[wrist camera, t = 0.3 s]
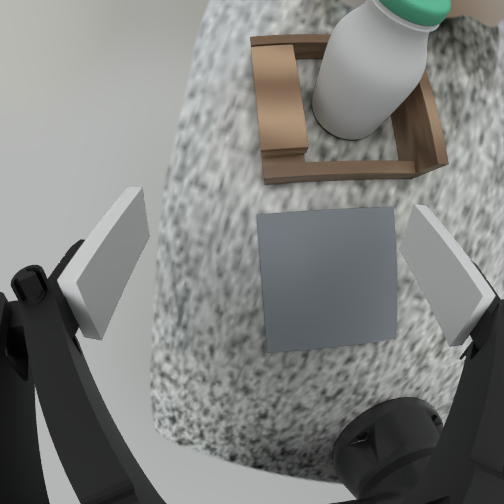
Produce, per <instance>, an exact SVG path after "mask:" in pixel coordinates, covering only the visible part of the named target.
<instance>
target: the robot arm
mask: <svg viewBox="0 0 504 504" xmlns="http://www.w3.org/2000/svg"><path fill="white" fill-rule="evenodd" d="M149 237H150V235H149V229H148V223H147V216H146V209H145V202H144V194H143V187H129V188H127V189H126V190H125V192H124V193H123V194H122V195H121V196H120V197H119V198H118V200H117V201H116V202H115V203H114V205H113V206H112V207H111V208H110V209H109V211H108V212H107V213H106V214H105V216H104V217H103V218H102V219H101V220H100V222H99V223H98V224H97V226H96V227H95V228H94V229H93V231H92V232H91V233H90V235H89V236H88V237H87V239H86V240H79V241H78V242H77V243H75V244H74V245H73V246H72V247H71V248H70V249H69V250H68V251H67V253H66V254H65V256H64V257H63V258H62V260H61V261H60V263H59V264H58V265H57V267H56V268H55V269H54V271H53V272H52V274H51V275H50V277H49V278H48V279H47V277H46V275H45V272H44V270H43V268H42V267H41V266H39V265H30V266H28V267H25V268H23V269H21V270H20V271H19V272H17V273H16V274H15V276H14V277H13V279H12V280H11V287H12V289H13V291H14V293H15V295H16V297H17V298H18V301H11V302H8V301H7V299H6V297H5V295H4V294H3V293H2V292H0V504H50V503H49V499H48V495H47V491H46V486H45V481H44V476H43V470H42V464H41V458H40V451H39V444H38V434H37V424H36V410H35V387H36V390H37V394H38V398H39V402H40V405H41V408H42V411H43V415H44V417H45V421H46V424H47V427H48V430H49V433H50V435H51V438H52V441H53V443H54V446H55V449H56V451H57V454H58V456H59V459H60V461H61V463H62V466H63V468H64V470H65V472H66V475H67V477H68V479H69V481H70V483H71V485H72V487H73V489H74V491H75V493H76V495H77V497H78V499H79V501H80V503H81V504H166V503H165V502H164V500H163V499H162V498H161V497H160V495H159V494H158V493H157V491H156V490H155V488H154V487H153V485H152V484H151V482H150V481H149V480H148V478H147V477H146V475H145V474H144V472H143V470H142V469H141V467H140V466H139V464H138V463H137V461H136V459H135V458H134V456H133V455H132V453H131V451H130V449H129V448H128V446H127V444H126V443H125V441H124V439H123V437H122V436H121V434H120V432H119V430H118V428H117V426H116V424H115V423H114V421H113V419H112V417H111V415H110V413H109V411H108V409H107V407H106V405H105V403H104V401H103V399H102V397H101V394H100V392H99V390H98V388H97V386H96V384H95V381H94V379H93V377H92V374H91V372H90V370H89V367H88V365H87V362H86V360H85V358H84V355H83V352H82V350H81V347H80V344H79V342H78V339H77V338H76V336H75V334H76V332H77V330H78V328H80V330H81V331H82V333H83V335H84V337H86V338H92V339H97V340H102V339H103V336H104V334H105V332H106V329H107V327H108V324H109V322H110V320H111V317H112V315H113V313H114V310H115V308H116V306H117V304H118V301H119V299H120V297H121V295H122V292H123V290H124V288H125V286H126V284H127V282H128V280H129V278H130V275H131V273H132V271H133V269H134V267H135V265H136V263H137V261H138V259H139V257H140V255H141V253H142V251H143V249H144V247H145V245H146V243H147V241H148V239H149ZM399 250H400V252H401V254H402V255H403V257H404V259H405V261H406V262H407V264H408V266H409V268H410V269H411V271H412V273H413V275H414V276H415V278H416V280H417V282H418V284H419V286H420V288H421V289H422V291H423V293H424V295H425V297H426V299H427V301H428V303H429V305H430V307H431V309H432V311H433V313H434V315H435V317H436V319H437V321H438V323H439V325H440V327H441V329H442V332H443V334H444V336H445V338H446V340H447V342H448V345H449V347H451V346H457V345H463V343H464V342H465V340H466V339H467V338H468V336H469V335H470V336H471V338H472V340H473V341H472V342H471V344H470V345H469V346H468V347H467V349H466V350H465V351H464V353H463V354H462V355H461V357H460V359H461V360H462V358H463V357H464V356H466V359H465V361H464V362H465V363H464V367H463V371H462V374H461V378H460V381H459V384H458V388H457V391H456V394H455V397H454V400H453V403H452V406H451V409H450V412H449V415H448V417H447V420H446V423H445V425H444V427H443V423H442V420H441V418H440V416H439V415H438V413H437V412H436V411H435V410H434V409H433V407H432V406H431V405H430V404H429V403H427V402H425V401H423V400H421V399H417V398H399V399H394V400H390V401H387V402H384V403H382V404H379V405H377V406H375V407H373V408H371V409H369V410H368V411H366V412H364V413H363V414H361V415H360V416H359V417H357V418H356V419H355V420H354V421H353V422H351V423H350V424H349V425H348V426H347V427H346V428H345V430H344V431H343V432H342V433H341V435H340V436H339V438H338V440H337V441H336V444H335V446H334V449H333V464H334V468H335V472H336V474H337V476H338V478H339V480H340V481H341V482H342V483H343V484H344V485H345V486H346V488H347V489H348V490H349V491H350V492H351V493H352V494H353V495H354V496H355V497H356V499H357V500H351V501H345V502H338V503H332V504H504V299H502V300H501V299H500V298H499V296H498V295H497V293H496V292H495V290H494V289H493V287H492V286H491V285H490V283H489V282H488V280H486V277H485V276H484V275H483V274H482V272H481V270H480V269H479V268H478V266H477V265H476V264H475V263H474V262H473V261H472V260H470V258H469V257H468V256H467V254H466V253H465V252H464V251H463V249H462V248H461V247H460V245H459V244H458V243H457V242H456V240H455V239H454V238H453V237H452V236H451V234H450V233H449V232H448V231H447V229H446V228H445V227H444V226H443V225H442V224H441V222H440V221H439V220H438V219H437V218H436V217H435V216H434V214H433V213H432V212H431V211H430V210H429V209H428V208H427V207H426V206H424V205H417V204H414V205H413V209H412V212H411V215H410V218H409V221H408V224H407V227H406V230H405V233H404V236H403V239H402V242H401V245H400V247H399Z"/></svg>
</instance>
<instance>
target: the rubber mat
mask: <svg viewBox="0 0 504 504" xmlns="http://www.w3.org/2000/svg"><path fill="white" fill-rule="evenodd" d="M257 224H258V237H259V250H260V263H261V276H262V290H263V303H264V317H265V331H266V345H267V353H274V352H288V351H301V350H312V349H322V348H331V347H340V346H348V345H356V344H363V343H370V342H377V341H384V340H390V339H396V322H397V259H396V238H395V223H394V211H393V207H372V208H351V209H333V210H316V211H301V212H287V213H273V214H260V215H257Z"/></svg>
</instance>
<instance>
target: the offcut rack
mask: <svg viewBox="0 0 504 504" xmlns="http://www.w3.org/2000/svg"><path fill="white" fill-rule="evenodd" d="M330 36H331V35H321V34H294V35H270V36H256V37H250V41H251V53H252V63H253V72H254V82H255V92H256V102H257V113H258V123H259V134H260V145H261V154H262V161H263V175H264V183H265V185H269V184H282V183H297V182H315V181H336V180H366V179H413V178H415V177H418V176H420V175H423V174H425V173H428V172H430V171H433V170H435V169H438V168H440V167H443V166H445V165H448V164H449V163H448V157H447V152H446V146H445V141H444V136H443V132H442V127H441V123H440V119H439V115H438V111H437V107H436V103H435V99H434V96H433V92H432V89H431V85H430V82H429V79H428V76H427V73H426V70H424V73H423V75H422V78H421V79H420V81H419V83H418V84H417V86H416V87H415V89H414V90H413V91H412V92H411V93H410V95H409V96H408V97H407V98H406V99H405V100H404V101H403V102H402V103H401V104H400V105H399V106H398V108H397V109H396V110H395V111H394V112H393V113H392V114H391V118H392V123H393V128H394V133H395V138H396V144H397V150H398V156H399V161H328V162H306V163H305V160H304V153H306V152H307V149H308V139H307V131H306V124H305V117H304V110H303V103H302V96H301V90H300V84H299V77H298V71H297V66H296V60H295V59H323V57H324V53H325V50H326V47H327V44H328V41H329V39H330Z"/></svg>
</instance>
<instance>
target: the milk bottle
mask: <svg viewBox="0 0 504 504" xmlns="http://www.w3.org/2000/svg"><path fill="white" fill-rule="evenodd" d="M450 8H451V2H450V0H367V1H366V2H365V3H364V4H363V5H361V6H360V7H358V8H356V9H355V10H353V11H351V12H350V13H348V14H347V15H346V16H345V17H343V18H342V19H341V20H340V22H339V23H338V24H337V25H336V27H335V28H334V30H333V32H332V34H331V36H330V39H329V41H328V44H327V47H326V50H325V53H324V57H323V60H322V64H321V67H320V71H319V74H318V78H317V81H316V85H315V89H314V93H313V97H312V108H313V112H314V115H315V117H316V119H317V120H318V122H319V123H320V124H321V126H322V127H323V128H324V129H326V130H327V131H328V132H330V133H331V134H333V135H335V136H337V137H340V138H343V139H348V140H357V139H362V138H365V137H367V136H369V135H370V134H372V133H373V132H374V131H375V130H376V129H377V128H378V127H379V126H380V125H381V124H382V123H383V122H384V121H385V120H386V119H387V118H388V117H389V116H390V115H391V114H392V113H393V112H394V111H395V110H396V109H397V108H398V106H399V105H400V104H401V103H402V102H403V101H404V100H405V99H406V98H407V97H408V96H409V95H410V93H411V92H412V91H413V90H414V89H415V87H416V86H417V84H418V83H419V81H420V79H421V78H422V75H423V73H424V70H425V66H426V60H427V39H428V35H429V32H430V31H433V30H435V29H437V28H438V26H439V24H440V23H441V22H442V21H443V20H444V19H445V18H446V16H447V15H448V13H449V12H450Z"/></svg>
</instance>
